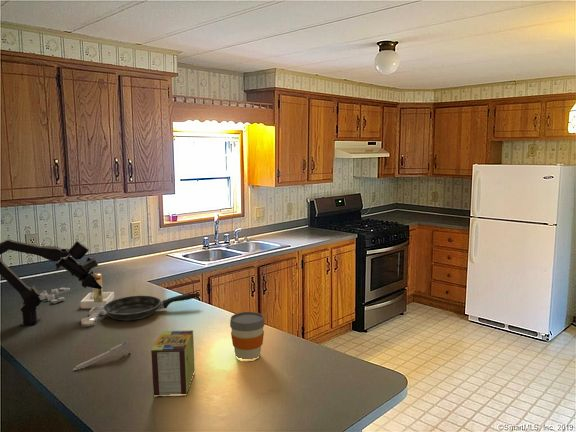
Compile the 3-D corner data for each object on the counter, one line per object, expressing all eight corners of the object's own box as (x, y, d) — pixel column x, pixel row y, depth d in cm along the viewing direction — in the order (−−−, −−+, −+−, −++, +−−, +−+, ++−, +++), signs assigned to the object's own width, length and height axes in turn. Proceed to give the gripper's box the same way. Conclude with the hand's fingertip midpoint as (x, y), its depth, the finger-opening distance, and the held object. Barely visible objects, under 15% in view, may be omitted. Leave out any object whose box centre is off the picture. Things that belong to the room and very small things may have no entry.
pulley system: (30, 308, 227) (63, 303, 231) (29, 299, 226) (62, 294, 231) (41, 294, 253) (71, 290, 257) (40, 286, 252) (70, 281, 256)
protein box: (195, 373, 158) (193, 329, 156) (186, 397, 143) (185, 349, 141) (164, 373, 158) (162, 330, 156) (152, 397, 143) (150, 349, 140)
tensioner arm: (95, 326, 200) (94, 321, 200) (78, 327, 200) (78, 321, 199) (108, 309, 221) (108, 304, 221) (93, 310, 221) (93, 305, 220)
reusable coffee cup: (233, 366, 163) (232, 325, 161) (228, 351, 175) (227, 313, 173) (268, 361, 166) (267, 321, 164) (261, 347, 178) (260, 310, 176)
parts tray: (106, 307, 225) (106, 300, 224) (80, 308, 223) (80, 301, 223) (114, 298, 238) (113, 291, 238) (90, 299, 237) (89, 292, 237)
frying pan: (102, 327, 200) (101, 312, 199) (106, 308, 224) (106, 294, 223) (204, 316, 213) (203, 302, 212) (198, 299, 237) (197, 286, 236)
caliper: (130, 353, 174) (129, 337, 173) (131, 354, 173) (130, 338, 172) (72, 370, 161) (71, 353, 160) (73, 371, 160) (72, 354, 159)
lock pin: (101, 302, 215) (100, 275, 213) (92, 302, 215) (90, 275, 213) (104, 299, 219) (102, 273, 217) (95, 300, 219) (93, 273, 217)
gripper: (88, 257, 204) (115, 278, 210) (84, 249, 220) (110, 269, 227) (69, 277, 201) (98, 298, 208) (67, 267, 217) (93, 287, 224)
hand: (100, 287), depth 217 cm, fingers closed on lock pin, 4 cm apart
